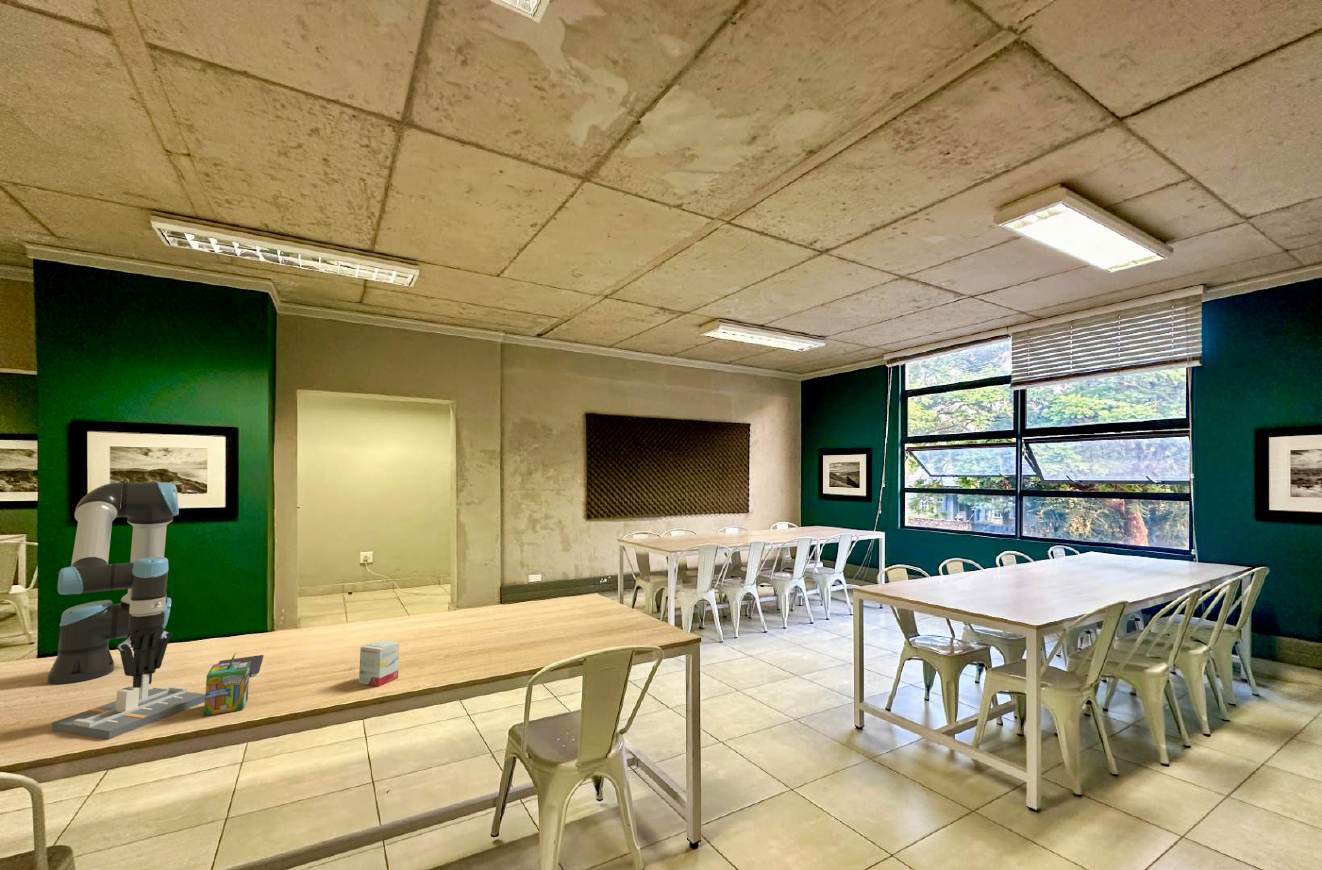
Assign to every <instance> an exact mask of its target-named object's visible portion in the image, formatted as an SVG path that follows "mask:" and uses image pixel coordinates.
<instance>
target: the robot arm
mask: <svg viewBox="0 0 1322 870" xmlns="http://www.w3.org/2000/svg"><path fill="white" fill-rule="evenodd" d="M179 510H180V509H179V497H178V490H177V486H176V484H175V483H173V482H162V481H161V482H160V481H151V482H150V481H141V482H140V481H137V482H136V481H135V482H123V481H122V482H119V481H117V482H110V483H107V484H104V485H101V486H98V487H97V488H94V489H93V490H91V491H89V492H88V493H87V494H86V495H84V496H83V497H82V498H81V499H80V501H79V502H78V503H77V504H76V507H75V510H74V519H75V520H76V521H77V527H76V533H75V539H74V546H73V552H72V557H71V565H70V566H68V567H63V568H60V570H59V571H58V578H57V579H58V580H57V592H58V594H59V595H64V596H65V595H82V594H90V593H92V594H93V593H98V592H108V591H117V590H118V591H119V590H127V593H126V594H124V595H123V596H122V598H121V599H120V603H114V602H113V601H112V600H111V599H105V600H95V601H91V602H86V603H82V604H81V603H80V604H77V605H74V606H71V607H69V608H66V610H64V611H62V613H61V619H60V623H59V627H60V629H59V640H58V650H57V657H56V659H55V660H54V662H53V664H52V666H51V668H50V671H49V673H47V674H48V675H47V683H50V684H56V685H57V684H58V685H59V684H61V685H62V684H71V683H79V682H84V681H88V680H89V681H90V680H92V679H97V678H101V677H104V676H107V675H108V674H110V673H112V672H113V671H115V670H114V669H115V662H114V659H113V656H112V654H111V650H110V648H109V642H110V640H116V639H122V638H123V639H125V638H126V639H125V640H124V641H123V642H121V643H118V644H116V646H115V648H116V649H117V650H118V651H119V654H120V659H121V663H122V668H123V673H124V675H125V676H128V677H132V687H136V688H139V699H140V700H143V699H145V698H148V690H149V687H150V685H151V684H152V680H153V679H152V678H153V674H155V673H156V671H157V669H160V668H161V666H162V663H163V660H164V657H165V654H166V650H167V648H168V643H169V640H171V638H172V636H173V635H174V634H173V632H171V631H169V632H168V631H166V630H165V629H166V626H167V624H168V622H169V621H168V620H169V617H170V613H171V607H172V598H171V597H167V587H168V586H167V585H168V575H169V574H168V573H169V569H170V568H169V559H168V558H167V557H165V549H166V539H167V538H166V537H167V528H168V527H167V526H168V525H169V524H170V523H172V522H173V520H174V517H177V516H179V513H180V512H179ZM117 518H127V521H126V522H127V523H128V524H129V525H131V526H132V535H131V536H132V537H131V549H130V560H129V561H130V562H124V563H110V564H109V556H110V550H111V549H110V547H111V535H112V527H113V521H114V520H115V519H117ZM131 648H132V649H131Z"/></svg>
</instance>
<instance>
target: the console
mask: <svg viewBox="0 0 1322 870" xmlns="http://www.w3.org/2000/svg"><path fill="white" fill-rule="evenodd" d="M205 694H206V693H198V692H192V691H188V688H187V687H181V686H170V687H168V689H166V688H160V687H153V688H150V689H148V698H145V699H143V700H140V699H139V701H138V707H136V708H133V709H130V710H127V711H125V712H116V711H115V710H116V700H115V701H112V702H108V703H106V704H103V705H100V706H97V707H95V708H91V709H87V710H85V711H82V712H78V713H76V714H74V715H71V716H67V717H64V718H61V719H59V720H56V721H53V722H52V723H51V731H53V732H60V733H61V732H62V733H66V734H67V733H68V734H74V735H79V736H84V737H92V738H99V739H106V740H110V739H113V738H115V736H116V737H119V736H121V735H123V733H124V734H126V733H129V732H132V731H134V730H136V729H139V728H141V727H143V726H146V725H145V724H147V723H149V724H152V723H154V722H157V721H159V720H162V719H165V718H166V716H167V717H169V715H170V716H172V715H174V714H178V713H179V711H180V712H182V711H185V710H188V709H190V708H193V707H195V706H197V705H199V704H200V705H201V704H203V703H205ZM164 717H165V718H164ZM158 719H159V720H158ZM156 720H157V721H156ZM153 721H154V722H153ZM147 725H148V724H147ZM125 732H126V733H125ZM112 737H113V738H112Z"/></svg>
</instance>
